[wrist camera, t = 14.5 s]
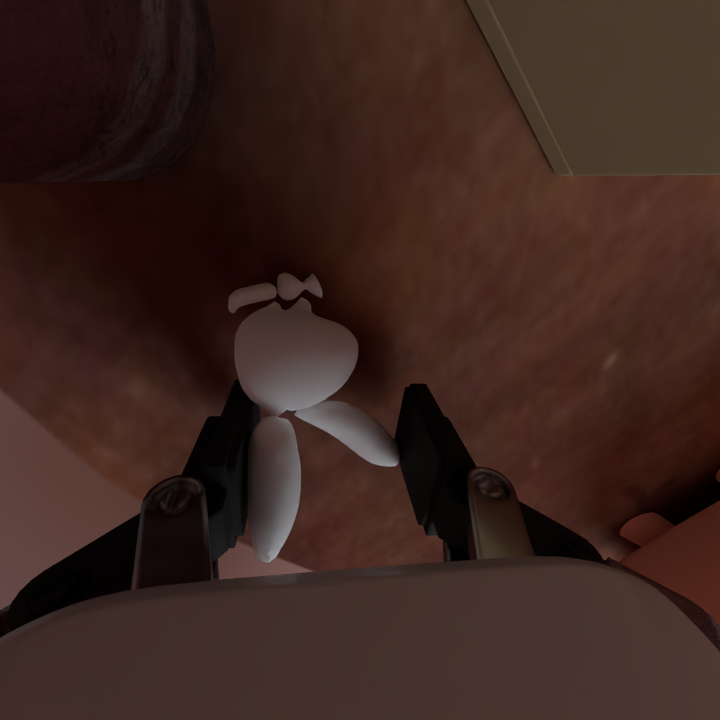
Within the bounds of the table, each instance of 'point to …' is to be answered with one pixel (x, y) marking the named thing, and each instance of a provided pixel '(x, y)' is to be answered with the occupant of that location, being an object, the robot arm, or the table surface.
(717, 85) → the chest
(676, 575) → the teapot
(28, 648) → the robot arm
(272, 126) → the table surface
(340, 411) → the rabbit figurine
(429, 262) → the table surface
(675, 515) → the table surface
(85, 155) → the can
